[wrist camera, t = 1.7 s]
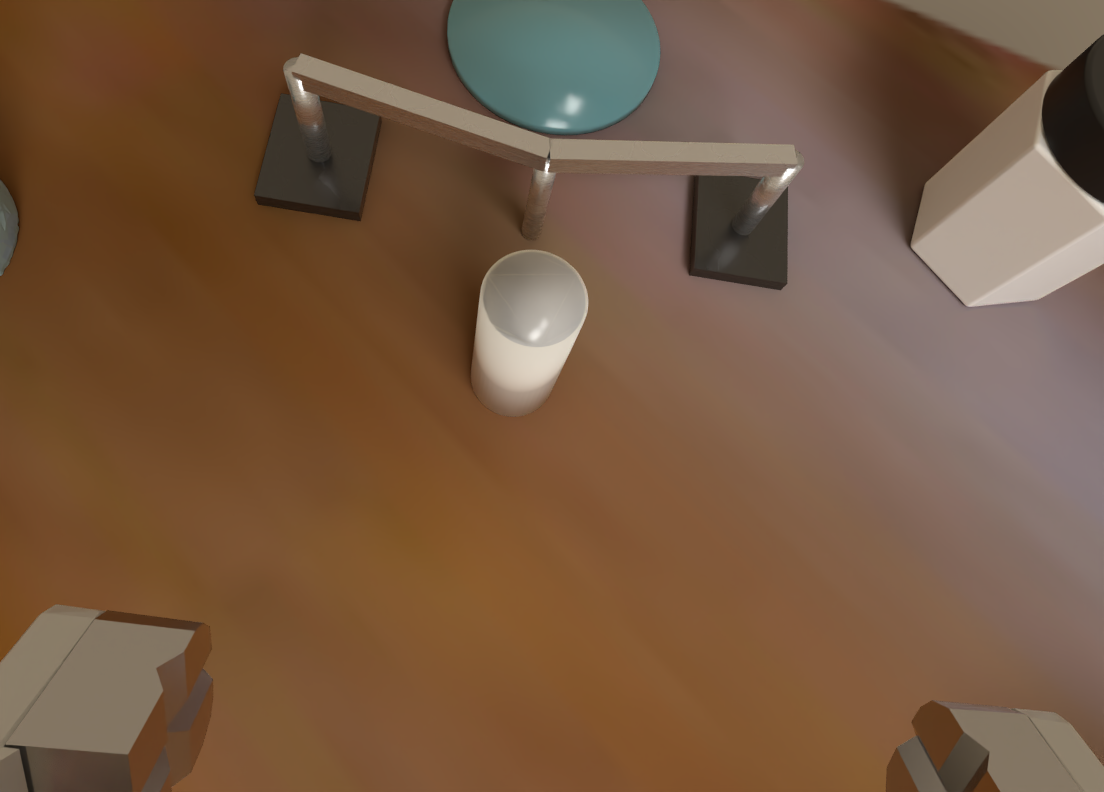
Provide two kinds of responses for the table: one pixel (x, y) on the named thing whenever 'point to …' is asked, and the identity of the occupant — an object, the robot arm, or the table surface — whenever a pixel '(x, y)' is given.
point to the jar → (1023, 194)
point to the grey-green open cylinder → (7, 227)
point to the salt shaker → (525, 330)
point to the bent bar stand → (352, 133)
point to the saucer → (555, 60)
